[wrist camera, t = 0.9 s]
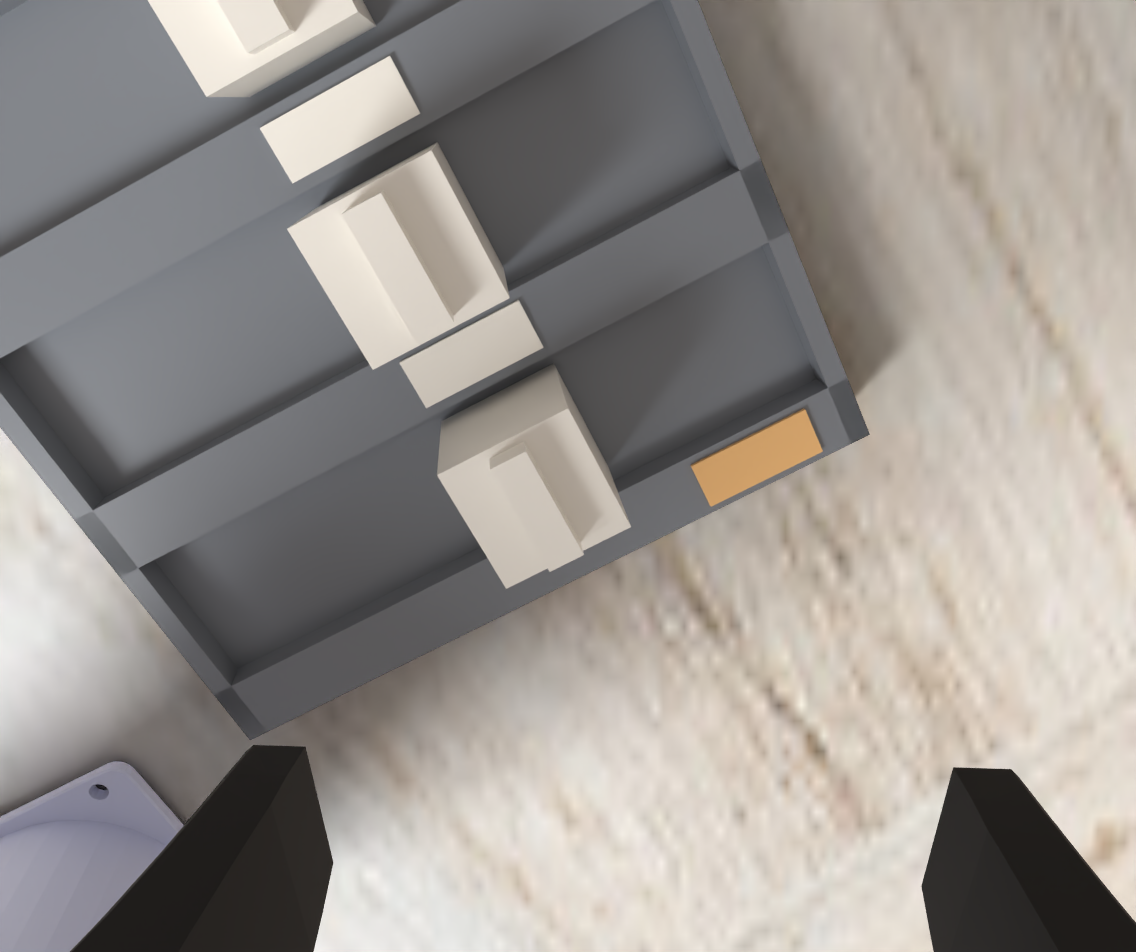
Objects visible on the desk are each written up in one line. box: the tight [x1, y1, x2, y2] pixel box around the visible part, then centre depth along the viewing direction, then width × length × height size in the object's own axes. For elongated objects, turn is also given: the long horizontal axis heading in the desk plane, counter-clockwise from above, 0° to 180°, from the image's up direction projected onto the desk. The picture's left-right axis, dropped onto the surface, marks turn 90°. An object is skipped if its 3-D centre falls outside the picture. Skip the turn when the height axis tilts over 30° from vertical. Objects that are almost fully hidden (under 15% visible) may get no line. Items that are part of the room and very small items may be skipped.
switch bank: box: [0, 0, 870, 740], centre depth 21 cm, size 17×18×2 cm
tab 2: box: [287, 142, 510, 370], centre depth 19 cm, size 3×3×4 cm
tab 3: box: [437, 363, 631, 589], centre depth 21 cm, size 3×3×4 cm
